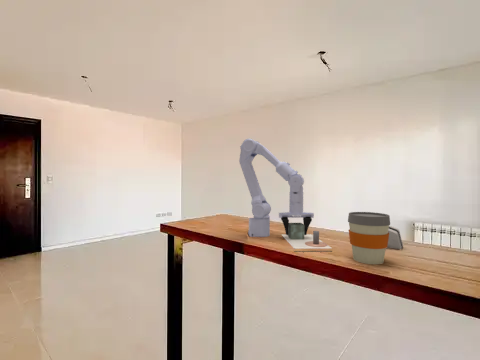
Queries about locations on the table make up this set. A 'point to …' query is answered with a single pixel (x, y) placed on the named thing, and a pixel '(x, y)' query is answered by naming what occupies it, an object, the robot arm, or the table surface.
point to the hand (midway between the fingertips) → (296, 234)
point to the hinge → (394, 238)
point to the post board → (307, 242)
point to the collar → (296, 230)
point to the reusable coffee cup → (368, 236)
